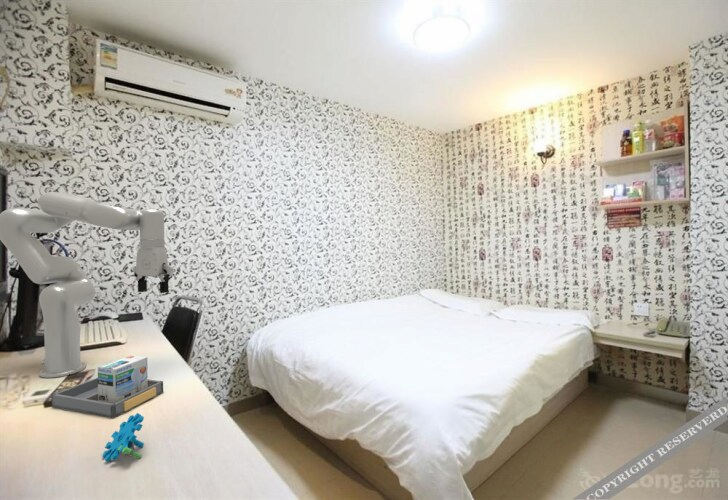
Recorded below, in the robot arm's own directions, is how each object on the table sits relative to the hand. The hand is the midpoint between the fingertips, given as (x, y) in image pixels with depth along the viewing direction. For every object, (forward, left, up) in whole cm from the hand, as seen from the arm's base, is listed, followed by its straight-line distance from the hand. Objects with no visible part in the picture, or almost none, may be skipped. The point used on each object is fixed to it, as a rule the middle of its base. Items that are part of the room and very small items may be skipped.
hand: (153, 291), depth 124 cm
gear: (+35, -41, -29) cm, 61 cm away
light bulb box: (+12, -22, -28) cm, 37 cm away
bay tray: (+7, -22, -28) cm, 37 cm away
